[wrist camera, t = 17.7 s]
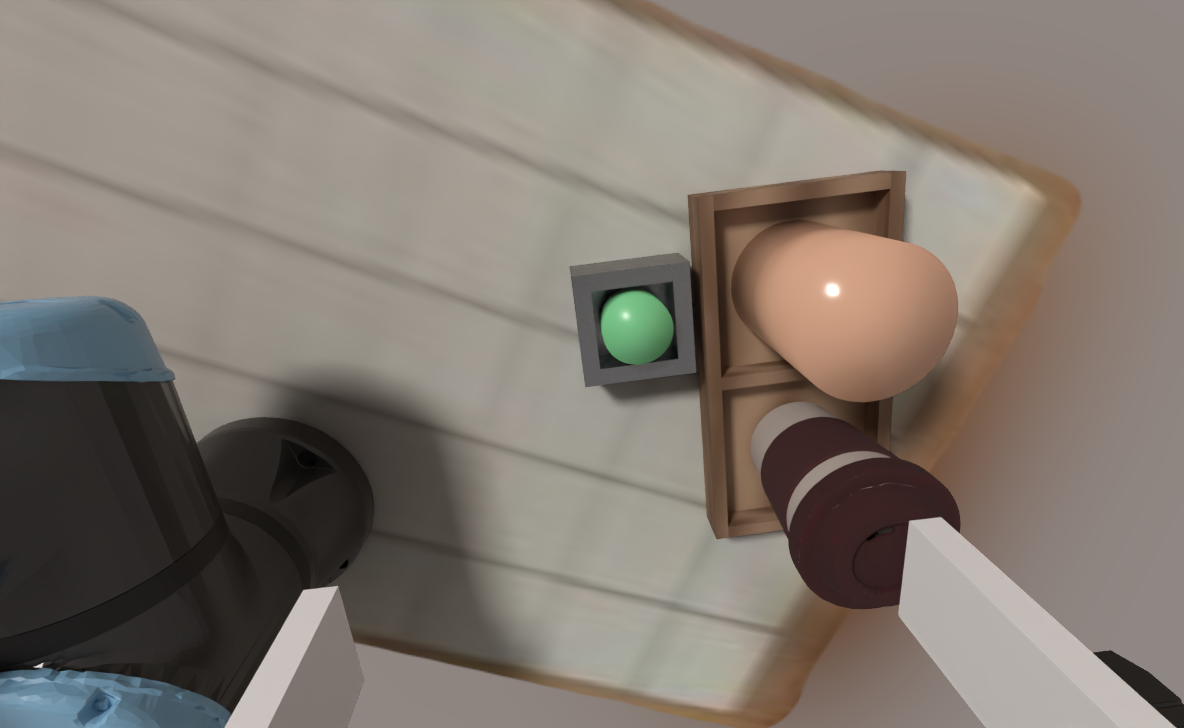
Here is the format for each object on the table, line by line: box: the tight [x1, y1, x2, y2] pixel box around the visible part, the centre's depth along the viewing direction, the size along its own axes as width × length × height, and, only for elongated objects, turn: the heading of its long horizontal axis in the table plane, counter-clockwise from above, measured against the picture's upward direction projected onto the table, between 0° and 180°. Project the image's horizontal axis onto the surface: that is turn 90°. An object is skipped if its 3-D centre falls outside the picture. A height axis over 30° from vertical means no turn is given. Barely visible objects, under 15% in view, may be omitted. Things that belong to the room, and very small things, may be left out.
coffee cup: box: [750, 402, 960, 609], centre depth 40 cm, size 10×10×15 cm
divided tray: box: [688, 171, 906, 539], centre depth 44 cm, size 14×27×3 cm, turn 7°
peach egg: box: [731, 220, 958, 402], centre depth 37 cm, size 9×9×12 cm
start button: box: [599, 287, 673, 365], centre depth 40 cm, size 5×5×3 cm
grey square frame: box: [570, 253, 696, 387], centre depth 42 cm, size 8×8×4 cm
